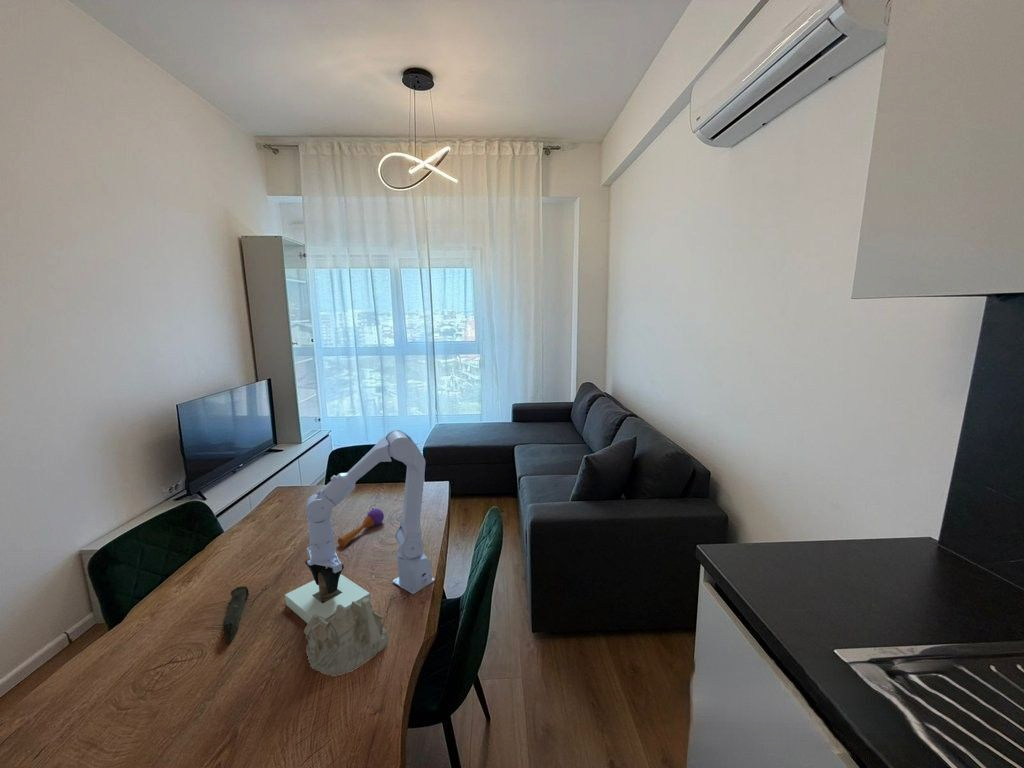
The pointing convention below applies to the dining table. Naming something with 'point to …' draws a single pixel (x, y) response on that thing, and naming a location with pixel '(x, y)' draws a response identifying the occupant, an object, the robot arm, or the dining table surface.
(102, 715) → the dining table surface
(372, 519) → the kendama
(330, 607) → the sage board
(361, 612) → the pale grey lumpy mound
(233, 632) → the hand tool
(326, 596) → the walnut peg
